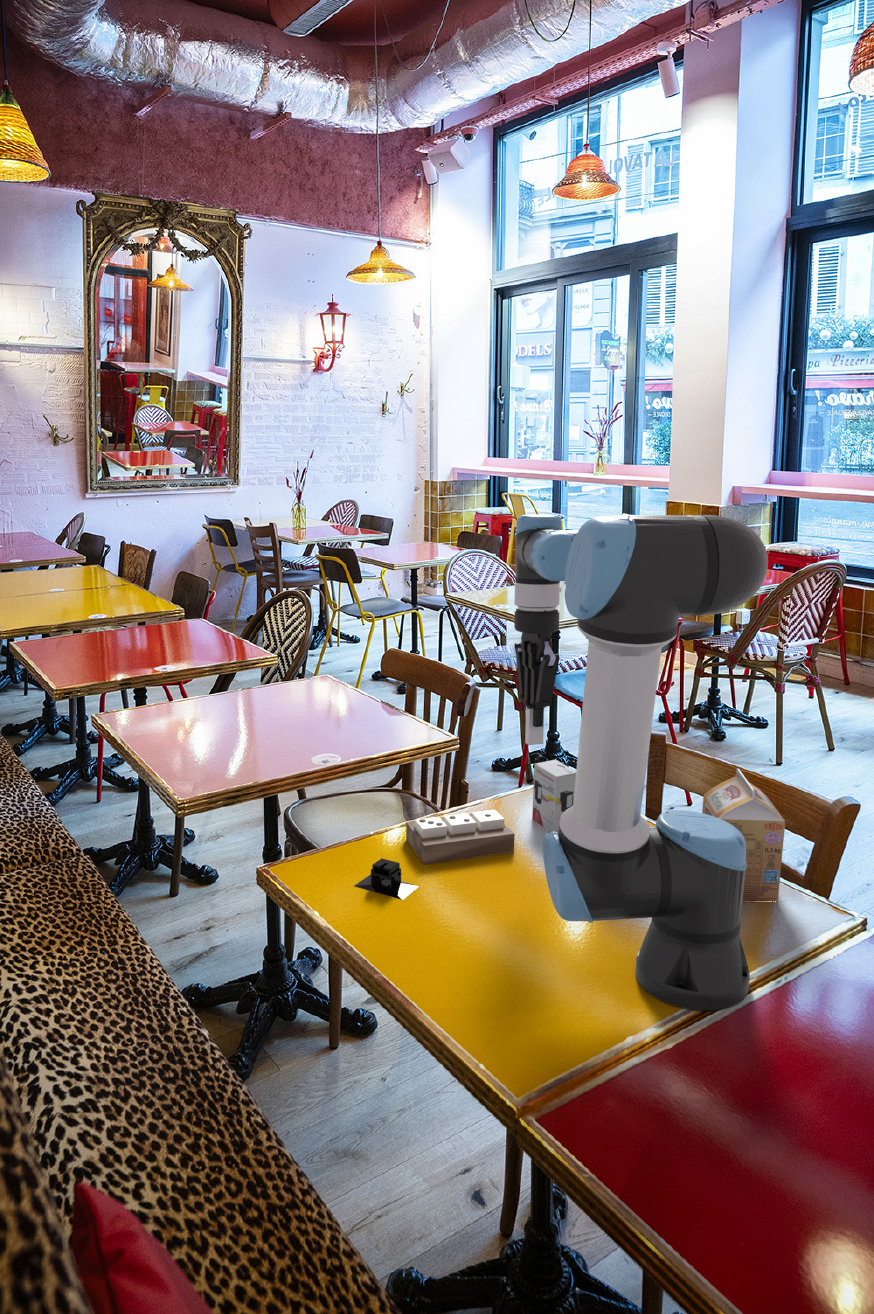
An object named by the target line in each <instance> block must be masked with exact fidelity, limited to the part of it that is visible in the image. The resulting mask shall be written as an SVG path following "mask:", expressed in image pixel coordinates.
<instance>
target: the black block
mask: <svg viewBox="0 0 874 1314" xmlns="http://www.w3.org/2000/svg"><path fill="white" fill-rule="evenodd" d="M400 865H401V863H400V862H398V861H394V860H390V859H386V858H383V857H382V858H380V859H379V860H377V861H376V862H374V863H372V866H371V867H372V868H371V869H370V874H369V875H368V876H366V877H365V878H362V880H360V881H358V882H357V883H358V884H357V883H355V884H354V885H353V887H354V888H359V889H362V890H366V891H368V892H372V893H376V894H379V895H384V896H386V897H391V898H394V899H397V900H404V899H406V897H408V896H409V895H410V894H411V893H413V892H414V891H415V890H417V888H419V885H416V884H413V883H409V882H406V881H402V875H403V873H402V868H401V866H400Z"/></svg>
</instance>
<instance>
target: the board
mask: <svg viewBox="0 0 874 1314" xmlns="http://www.w3.org/2000/svg"><path fill="white" fill-rule="evenodd" d="M468 814H469V815H470V816H471V818H472V813H468ZM440 818H441V819H442V821H443V822H444V816H443V817H440ZM405 830H406V831H405V833H406V834H405V836H406V837H405V839H406V841H407V843H408V844H409V845H410V847H411V848H412V850H413V851H414V852H415V854H416V855H417V856H418V858H419V859H420V860H421V862H422V863H423V864H424V865H429V864H435V863H441V862H451V861H455V860H456V861H457V860H463V859H471V858H478V857H484V856H493V855H500V854H507V853H513V852H515V832H513V830H512V829H511V828H509V826H508V825H507V824H506V823H504V828H500V829H493V830H485V831H479V830H478V829H477V828H476V832H470V833H462V834H454V835H450V833H449V832H448V831H447V836H439V837H431V838H424V839H421V838H420V836H419V835H418V834H417V832H416V831H415V820H410V821H406V822H405Z"/></svg>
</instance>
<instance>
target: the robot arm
mask: <svg viewBox="0 0 874 1314" xmlns="http://www.w3.org/2000/svg"><path fill="white" fill-rule="evenodd" d="M515 527H516V529H515V534H514V539H515V575H514V576H515V580H514V603H513V604H514V605H515V606H516V607H517V608H515V610H514V622H513V623H514V630H515V631H517V632H518V633H521V636H520V639H521V640H520V642H515V643H514V645H513V647H514V652H515V656H516V666H517V678H518V679H517V680H518V692H519V693H518V694H519V699H521V700H523V704H524V705H525V736H524V737H525V739H524V740H525V741H524V743H525V744H526V745H528V746H534V745H544V726H545V725H544V721H545V708H547V707H551V706H552V701H553V695H554V687H555V680H556V675H557V669H558V668H557V667H558V665H559V662H560V658H561V657H560V654H559V653H554V652H553V649H552V648H553V641H552V635H553V633H556V632H558V631H559V629H560V612H561V611H560V610H559V609H558V608H557V607H559V605H560V599H561V598H560V596H561V594H560V593H561V592H562V587H561V582H564V583H563V584H564V585H565V586H564V587H565V588H564V600H565V601H564V602H565V606H566V610H567V612H568V613H569V615H571V616H572V617H573V618H576V619H577V628H578V630H579V632H581V634H583V636H584V637H585V638H586V640H588V646H587V655H586V657H587V658H586V665H585V666H586V667H585V679H584V686H583V687H584V689H583V697H582V698H583V699H582V708H581V720H580V730H579V731H580V732H579V738H578V739H579V740H578V742H579V743H578V752H577V759H576V760H577V761H576V762H577V763H576V770H575V771H576V781H575V791H574V802H573V806H572V807H570V808H568V809H567V810H566V811H564V813H563V814H562V816H561V818H560V825H559V832H555V831H552V832H550V831H549V832H548V833H545V835H544V837H543V840H542V855H543V857H542V858H543V867H544V871H545V877H546V882H547V888H548V891H549V895H550V898H551V902H552V904H553V907H554V909H555V911H556V913H557V915H558V916H559V917H560V918H562V920H564V921H567V922H588V923H590V924H592V923H594V922H598V921H599V922H601V921H614V920H616V921H617V920H633V919H648V918H649V919H650V918H651V921H650V925H649V927H648V929H647V931H646V932H645V933H646V934H645V936H644V937H643V941H642V943H641V946H640V948H639V949H638V950H637V951H638V952H637V953H636V957H635V978H636V980H637V982H638V984H639V985H640V986H641V987H642V988H643V989H644V991H646V992H647V993H648V994H650V995H651V996H653V997H654V998H656V999H658V1000H660V1001H662V1002H664V1003H667V1004H669V1005H672V1006H676V1007H679V1008H683V1009H688V1010H695V1011H718V1010H724V1009H728V1008H731V1007H734V1006H736V1005H738V1004H740V1003H741V1002H742V1001H744V1000H745V998H747V996H748V994H749V989H750V979H751V975H750V973H751V972H750V969H749V964H748V961H747V957H746V953H745V949H744V946H743V942H742V938H741V921H742V913H743V911H742V910H743V902H742V901H743V890H744V879H745V870H746V868H747V863H746V842H745V839H744V836H743V835H742V833H741V832H740V831H739V830H738V829H737V828H735V827H734V826H733V825H731V824H729V823H728V822H726V821H724V820H721V819H719V818H716V817H713V816H710V815H707V814H703V813H702V812H698V811H694V810H693V811H692V810H686V809H685V810H684V809H683V810H682V809H673V810H667V811H665V812H661V813H660V814H659V816H658V817H657V819H656V821H655V827H650V824H649V823H648V822H647V820H646V819H645V818H644V817H643V816H642V815H641V814H642V806H643V799H644V797H643V796H644V790H645V783H646V775H647V774H646V773H647V765H648V758H649V753H650V752H649V749H650V742H651V735H652V726H653V719H654V712H655V704H656V703H655V702H656V697H657V696H656V695H657V687H658V680H659V679H658V678H659V672H660V671H659V670H660V664H661V663H660V662H661V658H662V657H661V656H662V649H663V647H665V646H666V645H668V644H669V643H671V642H673V640H675V639H676V637H677V634H678V629H679V628H678V626H679V621H680V617H689V616H690V617H695V616H696V617H697V616H709V615H711V616H713V615H719V614H722V613H726V612H729V611H732V610H734V609H737V608H738V607H740V606H742V605H744V604H746V603H747V602H748V601H749V600H751V599H752V598H753V597H754V596H755V595H756V594H757V593H758V591H759V590H760V589H761V588H762V585H763V584H764V582H765V579H766V575H767V573H768V569H769V568H768V567H769V565H768V564H769V560H768V558H769V557H768V552H767V549H766V546H765V544H764V542H763V541H762V539H761V538H760V536H759V535H758V534H757V532H755V531H754V529H752V528H751V527H749V526H748V525H747V524H745V523H742V522H740V521H738V520H736V519H733V518H730V517H725V516H720V515H714V514H698V515H688V514H687V515H673V514H672V515H671V514H670V515H669V514H668V515H667V514H664V515H662V514H657V515H656V514H654V515H653V514H628V513H621V514H618V515H612V516H611V515H610V516H608V515H607V516H597V517H593V518H590V519H588V520H587V521H586V522H584V523H583V524H582V525H581V526H580V528H579V529H578V530H576V529H573V530H571V529H570V530H569V529H568V530H567V529H566V530H564V529H563V528H562V527H563V526H562V519H561V517H560V516H559V515H556V514H555V515H554V514H523V515H522V514H521V515H520V516H518V517H517V520H516V525H515Z"/></svg>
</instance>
